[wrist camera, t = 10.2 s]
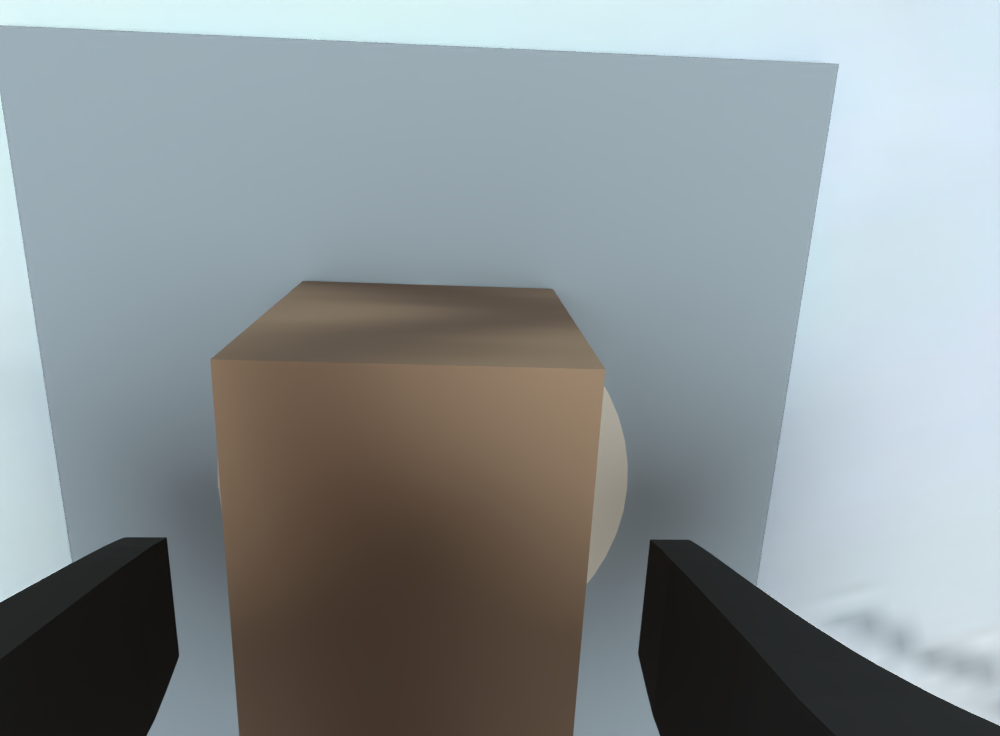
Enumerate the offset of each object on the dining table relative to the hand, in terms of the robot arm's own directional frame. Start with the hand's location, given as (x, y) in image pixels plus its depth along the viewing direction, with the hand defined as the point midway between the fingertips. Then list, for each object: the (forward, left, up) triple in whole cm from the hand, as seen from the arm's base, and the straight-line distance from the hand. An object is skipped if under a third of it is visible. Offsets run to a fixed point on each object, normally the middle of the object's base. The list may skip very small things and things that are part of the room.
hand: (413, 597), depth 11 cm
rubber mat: (0, 0, -4) cm, 4 cm away
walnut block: (0, 0, -4) cm, 4 cm away
